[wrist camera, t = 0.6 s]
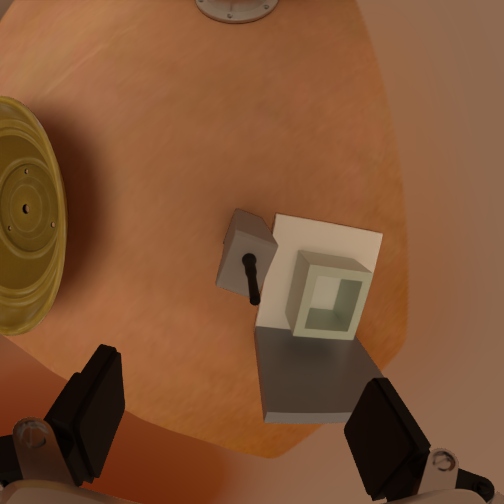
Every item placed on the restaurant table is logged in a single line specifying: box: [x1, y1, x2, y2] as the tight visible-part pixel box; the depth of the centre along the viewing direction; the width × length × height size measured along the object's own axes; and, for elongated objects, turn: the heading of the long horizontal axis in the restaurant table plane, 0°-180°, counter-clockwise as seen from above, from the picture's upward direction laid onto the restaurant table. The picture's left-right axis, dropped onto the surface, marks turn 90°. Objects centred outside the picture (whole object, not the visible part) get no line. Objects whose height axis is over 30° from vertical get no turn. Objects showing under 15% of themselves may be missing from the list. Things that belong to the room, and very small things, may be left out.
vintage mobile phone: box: [216, 208, 278, 305], centre depth 28 cm, size 4×5×25 cm
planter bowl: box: [0, 96, 68, 336], centre depth 31 cm, size 32×32×13 cm
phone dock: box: [254, 213, 384, 424], centre depth 34 cm, size 18×16×19 cm
